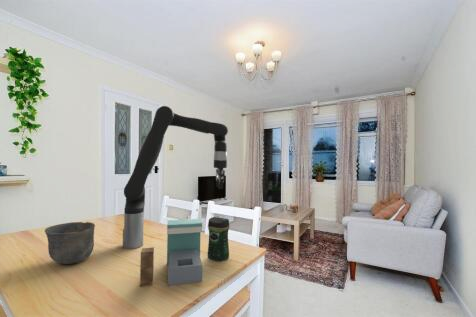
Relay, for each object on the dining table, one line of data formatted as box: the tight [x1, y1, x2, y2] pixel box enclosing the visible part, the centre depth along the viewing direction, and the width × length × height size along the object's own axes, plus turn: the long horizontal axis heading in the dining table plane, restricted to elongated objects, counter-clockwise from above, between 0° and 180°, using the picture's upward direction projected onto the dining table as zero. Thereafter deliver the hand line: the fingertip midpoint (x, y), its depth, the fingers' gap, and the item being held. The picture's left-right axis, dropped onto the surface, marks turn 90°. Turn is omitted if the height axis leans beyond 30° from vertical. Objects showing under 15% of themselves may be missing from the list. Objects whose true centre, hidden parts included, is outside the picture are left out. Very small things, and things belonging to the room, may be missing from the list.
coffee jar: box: [207, 216, 230, 263], centre depth 105 cm, size 10×8×19 cm
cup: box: [44, 221, 96, 265], centre depth 99 cm, size 18×18×15 cm
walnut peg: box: [139, 246, 155, 288], centre depth 83 cm, size 4×4×12 cm
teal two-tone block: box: [166, 218, 203, 266], centre depth 97 cm, size 14×8×18 cm, turn 105°
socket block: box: [167, 249, 203, 286], centre depth 90 cm, size 12×16×6 cm
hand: (219, 187), depth 131 cm, fingers open, 8 cm apart
